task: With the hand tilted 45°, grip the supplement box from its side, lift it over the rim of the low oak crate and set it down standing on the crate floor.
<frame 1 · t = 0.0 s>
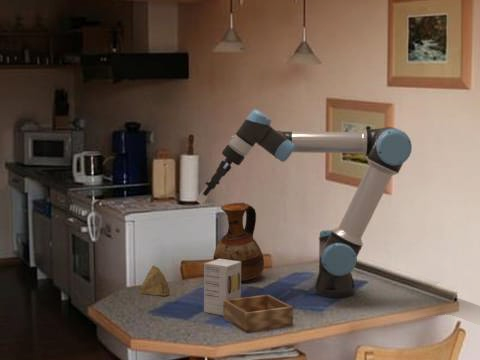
hand: (200, 199, 282), 36 cm above the table, tool tilted 35°, fingers open, 13 cm apart
oak crate: (257, 321, 261), on the table
ceramic pitcher: (238, 278, 318), on the table
rock: (155, 294, 294), on the table
supplement box: (222, 311, 273), on the table
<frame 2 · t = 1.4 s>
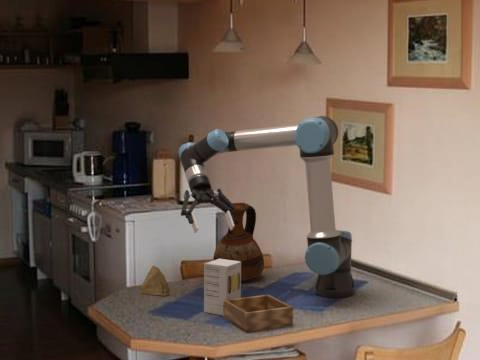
hand: (214, 229, 281), 26 cm above the table, tool tilted 45°, fingers open, 13 cm apart
nothing on the table moved.
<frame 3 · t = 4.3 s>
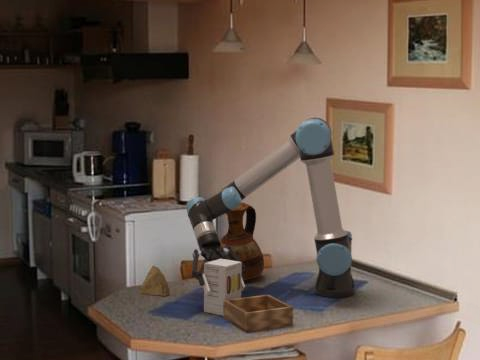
hand: (225, 291, 270), 7 cm above the table, tool tilted 45°, fingers closed on supplement box, 12 cm apart
supplement box: (222, 311, 273), on the table, touching gripper
everything else where it was.
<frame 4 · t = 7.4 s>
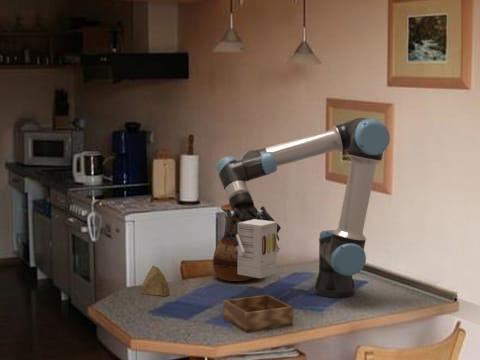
hand: (260, 252, 256), 23 cm above the table, tool tilted 45°, fingers closed on supplement box, 12 cm apart
supplement box: (257, 274, 259), point 16 cm above the table, touching gripper
everything else where it was.
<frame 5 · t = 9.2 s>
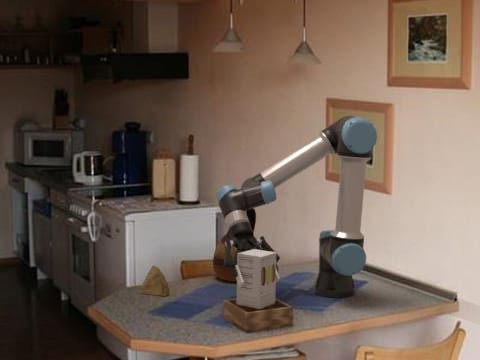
hand: (259, 282, 257), 13 cm above the table, tool tilted 45°, fingers closed on supplement box, 12 cm apart
supplement box: (255, 304, 260), point 6 cm above the table, touching gripper
everything else where it was.
when the fingers open (10 cm above the table, at t = 10.6 s): supplement box drops 2 cm, resting on oak crate.
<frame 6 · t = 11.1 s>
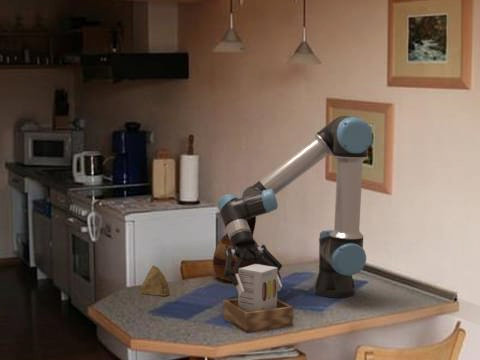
hand: (261, 291, 258), 11 cm above the table, tool tilted 45°, fingers open, 13 cm apart
supplement box: (257, 319, 261), point 1 cm above the table, touching oak crate
everything else where it was.
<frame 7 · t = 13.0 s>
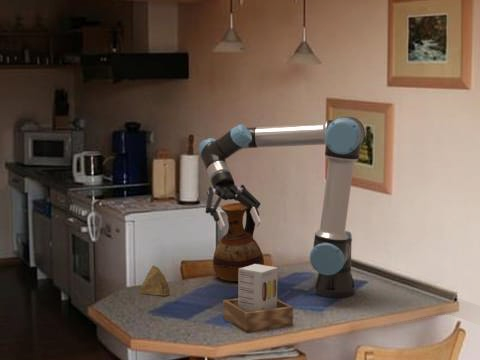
hand: (241, 226, 273), 28 cm above the table, tool tilted 45°, fingers open, 13 cm apart
nothing on the table moved.
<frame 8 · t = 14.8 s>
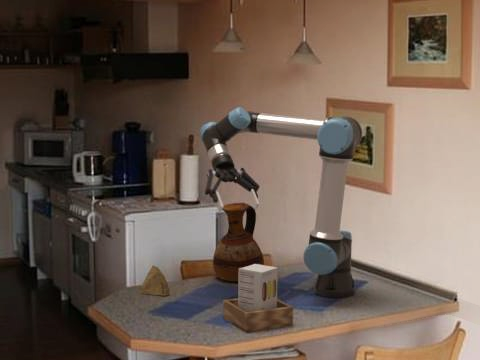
hand: (239, 207, 278), 34 cm above the table, tool tilted 45°, fingers open, 13 cm apart
nothing on the table moved.
at the end: supplement box inside the target area on the oak crate (0.1 cm from its centre), point 0.8 cm above the oak crate's base; supplement box tilted 0°; the gripper is holding nothing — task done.
